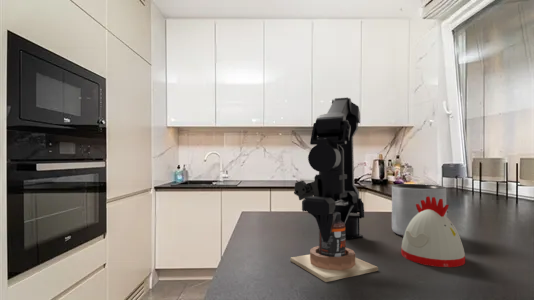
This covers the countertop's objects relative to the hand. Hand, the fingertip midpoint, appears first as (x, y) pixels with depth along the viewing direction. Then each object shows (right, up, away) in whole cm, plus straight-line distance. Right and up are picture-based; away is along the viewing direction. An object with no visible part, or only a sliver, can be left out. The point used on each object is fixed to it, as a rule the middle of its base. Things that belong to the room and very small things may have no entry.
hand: (331, 238), depth 70 cm
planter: (+34, -7, +28) cm, 45 cm away
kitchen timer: (+26, -7, +6) cm, 27 cm away
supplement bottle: (0, -6, 0) cm, 6 cm away
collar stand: (0, -6, 0) cm, 6 cm away
